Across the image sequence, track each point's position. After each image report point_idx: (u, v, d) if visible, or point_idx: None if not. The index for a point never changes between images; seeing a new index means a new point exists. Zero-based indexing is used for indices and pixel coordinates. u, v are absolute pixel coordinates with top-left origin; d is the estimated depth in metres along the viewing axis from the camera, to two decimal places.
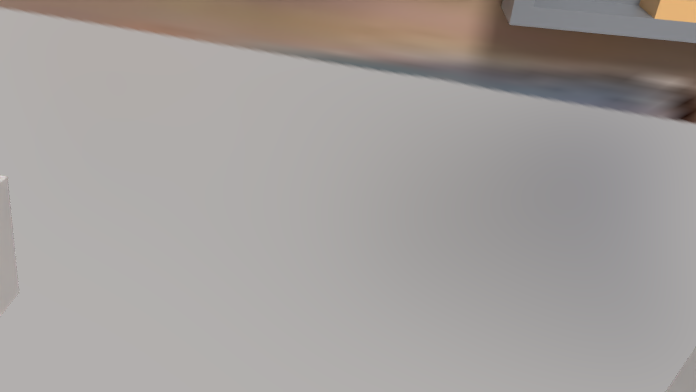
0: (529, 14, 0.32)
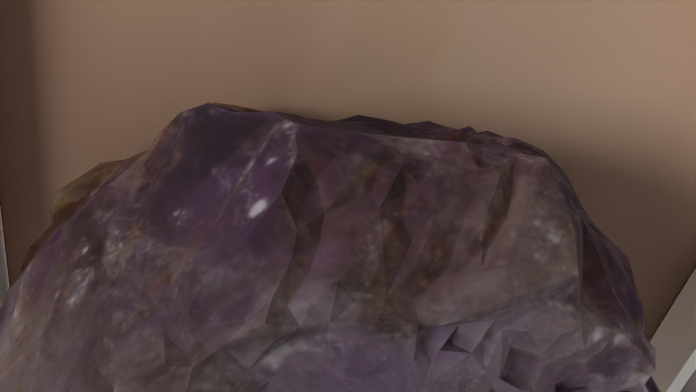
0: None
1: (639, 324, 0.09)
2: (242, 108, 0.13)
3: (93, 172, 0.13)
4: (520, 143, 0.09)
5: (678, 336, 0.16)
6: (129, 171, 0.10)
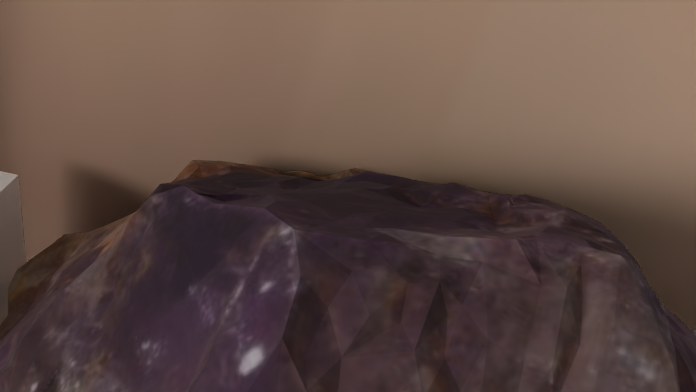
0: None
1: None
2: (227, 166, 0.11)
3: (55, 246, 0.11)
4: (574, 219, 0.07)
5: None
6: (89, 272, 0.08)
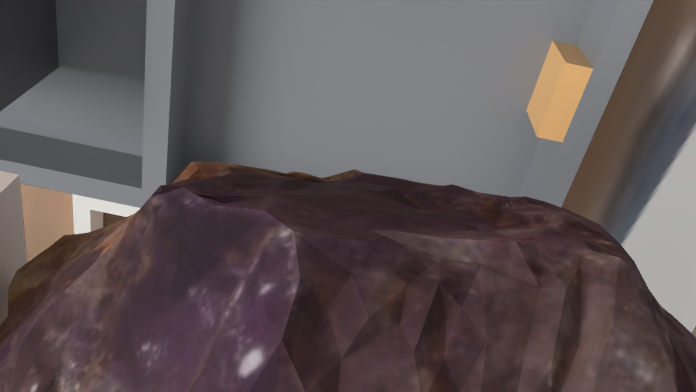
0: None
1: None
2: (227, 167, 0.11)
3: (55, 247, 0.11)
4: (573, 221, 0.08)
5: None
6: (89, 273, 0.08)
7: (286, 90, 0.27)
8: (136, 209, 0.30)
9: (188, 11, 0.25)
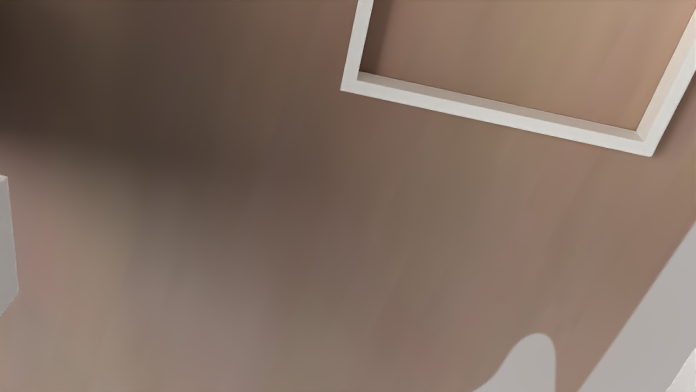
0: None
1: None
2: None
3: None
4: None
5: (688, 38, 0.35)
6: None
7: None
8: None
9: None
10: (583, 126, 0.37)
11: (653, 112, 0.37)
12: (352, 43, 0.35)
